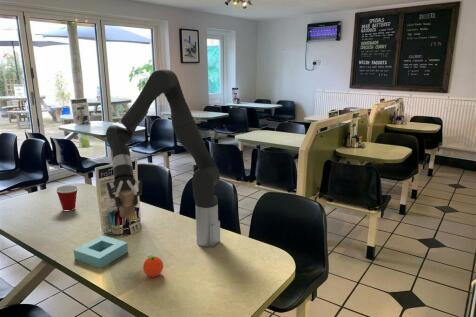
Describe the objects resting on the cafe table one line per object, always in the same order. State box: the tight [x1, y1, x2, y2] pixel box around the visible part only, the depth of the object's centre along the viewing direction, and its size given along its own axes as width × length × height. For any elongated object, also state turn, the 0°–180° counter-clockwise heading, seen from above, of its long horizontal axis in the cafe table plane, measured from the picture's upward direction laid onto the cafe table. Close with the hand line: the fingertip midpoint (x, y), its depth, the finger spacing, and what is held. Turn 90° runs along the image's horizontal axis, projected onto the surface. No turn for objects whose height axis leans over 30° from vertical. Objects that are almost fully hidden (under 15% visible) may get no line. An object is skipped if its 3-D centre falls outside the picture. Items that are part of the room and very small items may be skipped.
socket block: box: [73, 235, 129, 269], centre depth 139 cm, size 14×14×4 cm
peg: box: [118, 189, 136, 220], centre depth 137 cm, size 4×4×10 cm
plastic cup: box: [55, 184, 79, 211], centre depth 184 cm, size 11×11×12 cm
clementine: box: [142, 254, 164, 278], centre depth 126 cm, size 8×7×7 cm
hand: (127, 206), depth 135 cm, fingers closed on peg, 5 cm apart
